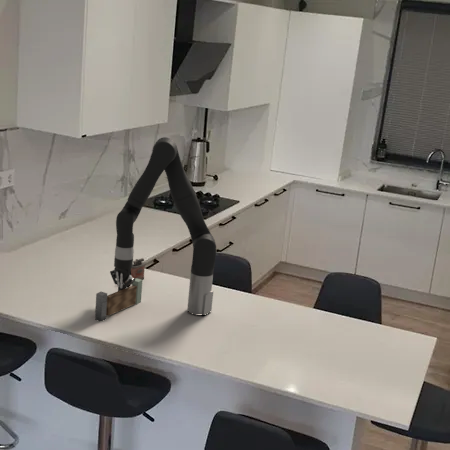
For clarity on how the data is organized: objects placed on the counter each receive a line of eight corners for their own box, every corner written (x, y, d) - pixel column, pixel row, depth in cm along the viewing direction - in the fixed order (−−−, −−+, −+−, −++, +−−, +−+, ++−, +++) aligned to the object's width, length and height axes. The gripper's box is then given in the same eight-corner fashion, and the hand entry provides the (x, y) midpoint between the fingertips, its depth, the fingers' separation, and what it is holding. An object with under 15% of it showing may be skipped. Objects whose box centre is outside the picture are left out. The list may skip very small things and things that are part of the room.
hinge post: (105, 319, 273) (107, 293, 270) (101, 321, 270) (102, 295, 267) (99, 317, 274) (101, 291, 271) (94, 319, 271) (96, 293, 268)
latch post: (140, 302, 293) (142, 280, 290) (136, 304, 290) (138, 281, 287) (135, 300, 294) (136, 278, 291) (130, 302, 291) (132, 280, 289)
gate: (108, 316, 275) (109, 297, 273) (105, 314, 276) (106, 296, 273) (135, 304, 289) (137, 286, 287) (132, 302, 290) (133, 285, 288)
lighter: (133, 283, 313) (134, 262, 310) (128, 280, 315) (129, 260, 312) (145, 279, 319) (147, 258, 316) (140, 277, 321) (142, 256, 318)
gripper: (105, 253, 283) (103, 292, 288) (128, 262, 276) (125, 302, 280) (119, 249, 289) (116, 288, 294) (142, 258, 281) (139, 298, 286)
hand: (121, 295), depth 287 cm, fingers closed
